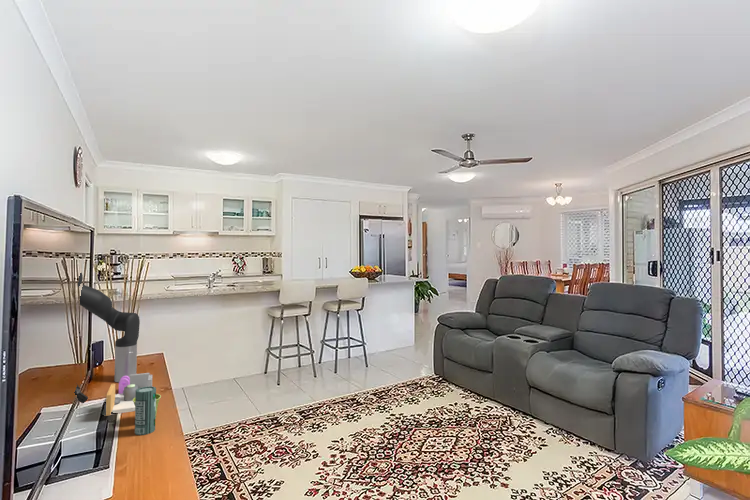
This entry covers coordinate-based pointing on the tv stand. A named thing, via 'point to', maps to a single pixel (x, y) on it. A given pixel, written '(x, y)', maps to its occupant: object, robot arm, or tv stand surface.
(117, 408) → the plate
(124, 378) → the bracket
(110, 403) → the tan upright panel
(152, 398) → the can
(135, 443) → the tv stand surface
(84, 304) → the robot arm
